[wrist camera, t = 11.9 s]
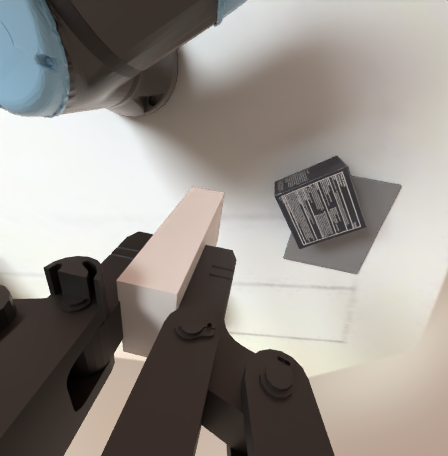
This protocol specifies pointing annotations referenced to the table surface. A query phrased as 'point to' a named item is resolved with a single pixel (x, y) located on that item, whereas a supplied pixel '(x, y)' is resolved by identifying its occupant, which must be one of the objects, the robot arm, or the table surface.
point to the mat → (355, 241)
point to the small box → (320, 203)
